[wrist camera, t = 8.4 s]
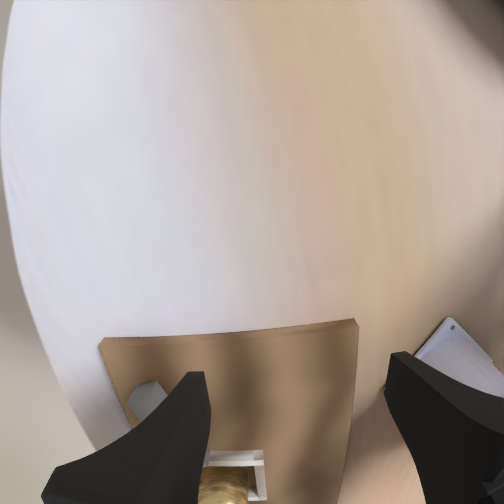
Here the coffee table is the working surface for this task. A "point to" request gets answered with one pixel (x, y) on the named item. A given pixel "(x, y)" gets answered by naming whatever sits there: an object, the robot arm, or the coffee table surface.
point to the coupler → (223, 485)
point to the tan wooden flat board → (256, 400)
